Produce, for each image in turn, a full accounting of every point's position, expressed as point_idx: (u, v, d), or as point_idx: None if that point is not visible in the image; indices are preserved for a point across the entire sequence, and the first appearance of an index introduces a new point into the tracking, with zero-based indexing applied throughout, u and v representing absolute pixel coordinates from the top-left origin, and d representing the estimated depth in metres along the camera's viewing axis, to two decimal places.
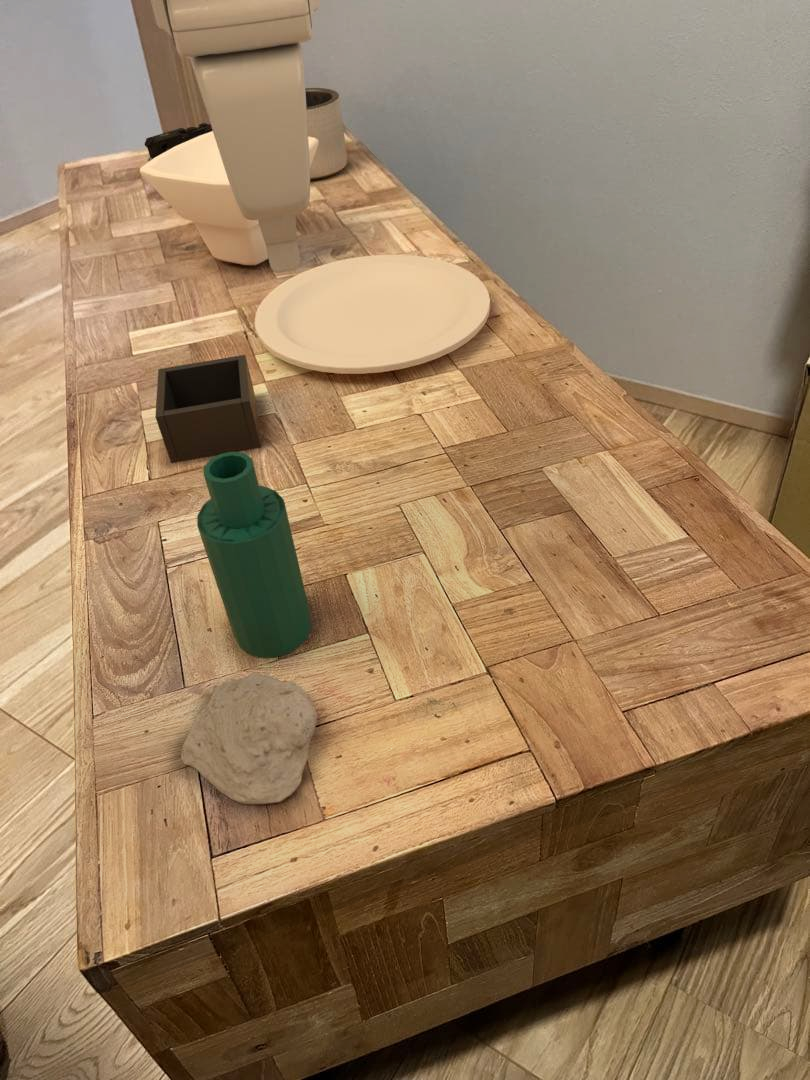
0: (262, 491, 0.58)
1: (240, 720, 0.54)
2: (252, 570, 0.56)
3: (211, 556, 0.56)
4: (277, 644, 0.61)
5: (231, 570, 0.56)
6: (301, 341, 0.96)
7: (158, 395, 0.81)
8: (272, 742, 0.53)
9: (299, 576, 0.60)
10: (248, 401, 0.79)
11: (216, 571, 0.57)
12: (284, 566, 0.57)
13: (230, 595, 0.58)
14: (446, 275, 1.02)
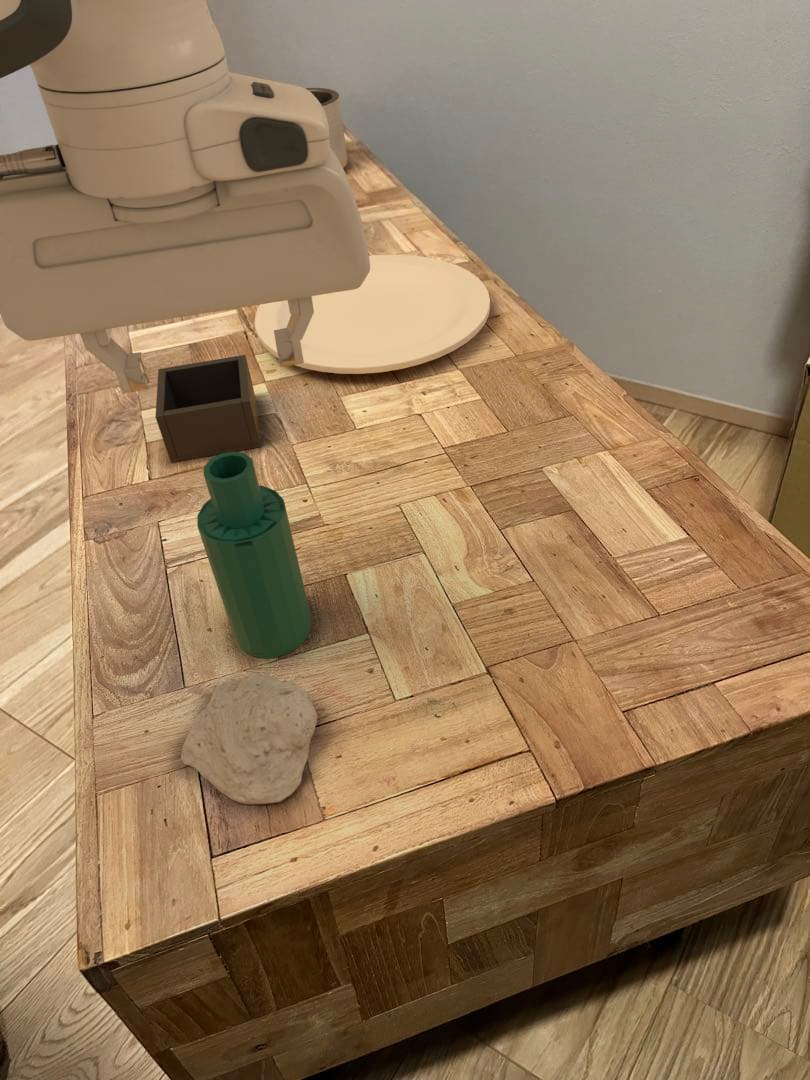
0: (262, 491, 0.58)
1: (240, 720, 0.54)
2: (252, 570, 0.56)
3: (211, 556, 0.56)
4: (277, 644, 0.61)
5: (231, 570, 0.56)
6: (301, 341, 0.96)
7: (158, 395, 0.81)
8: (272, 742, 0.53)
9: (299, 576, 0.60)
10: (248, 401, 0.79)
11: (216, 571, 0.57)
12: (284, 566, 0.57)
13: (230, 595, 0.58)
14: (446, 275, 1.02)
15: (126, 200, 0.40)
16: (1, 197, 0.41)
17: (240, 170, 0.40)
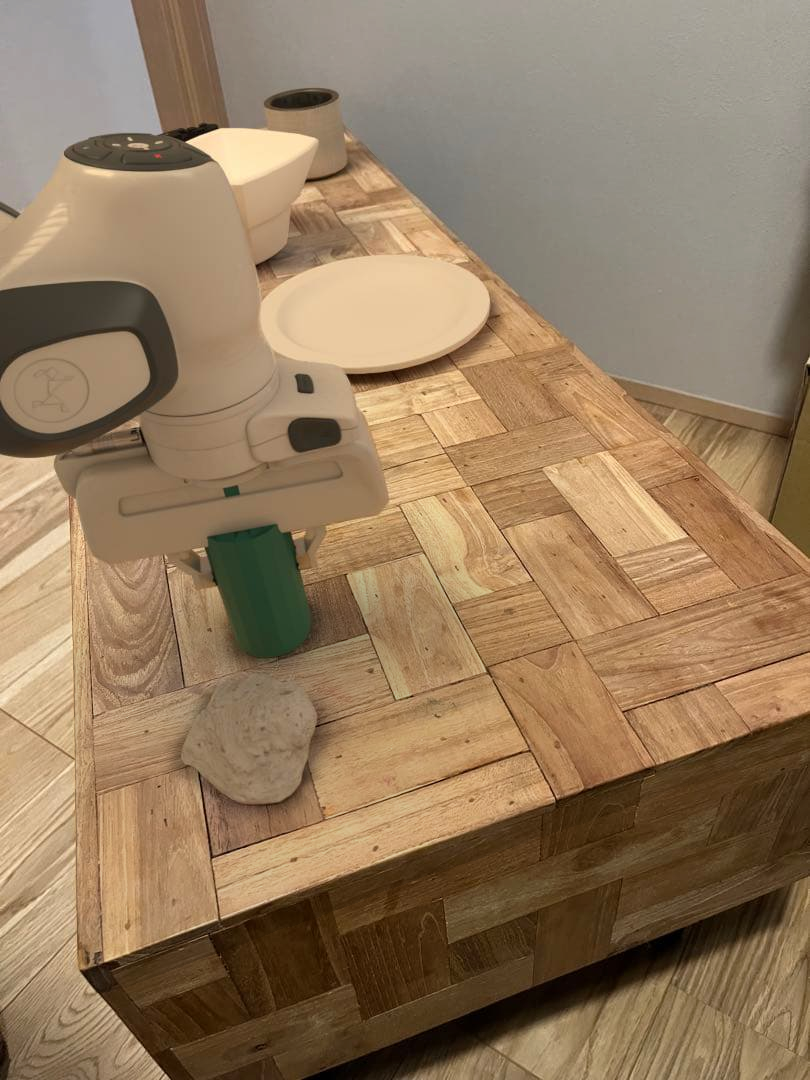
0: None
1: (240, 720, 0.54)
2: (252, 570, 0.56)
3: (211, 556, 0.56)
4: (276, 644, 0.61)
5: (231, 570, 0.56)
6: (301, 341, 0.96)
7: None
8: (272, 743, 0.53)
9: (299, 576, 0.60)
10: None
11: (216, 571, 0.57)
12: (284, 566, 0.58)
13: (230, 595, 0.58)
14: (446, 275, 1.02)
15: None
16: (94, 468, 0.51)
17: (287, 453, 0.50)
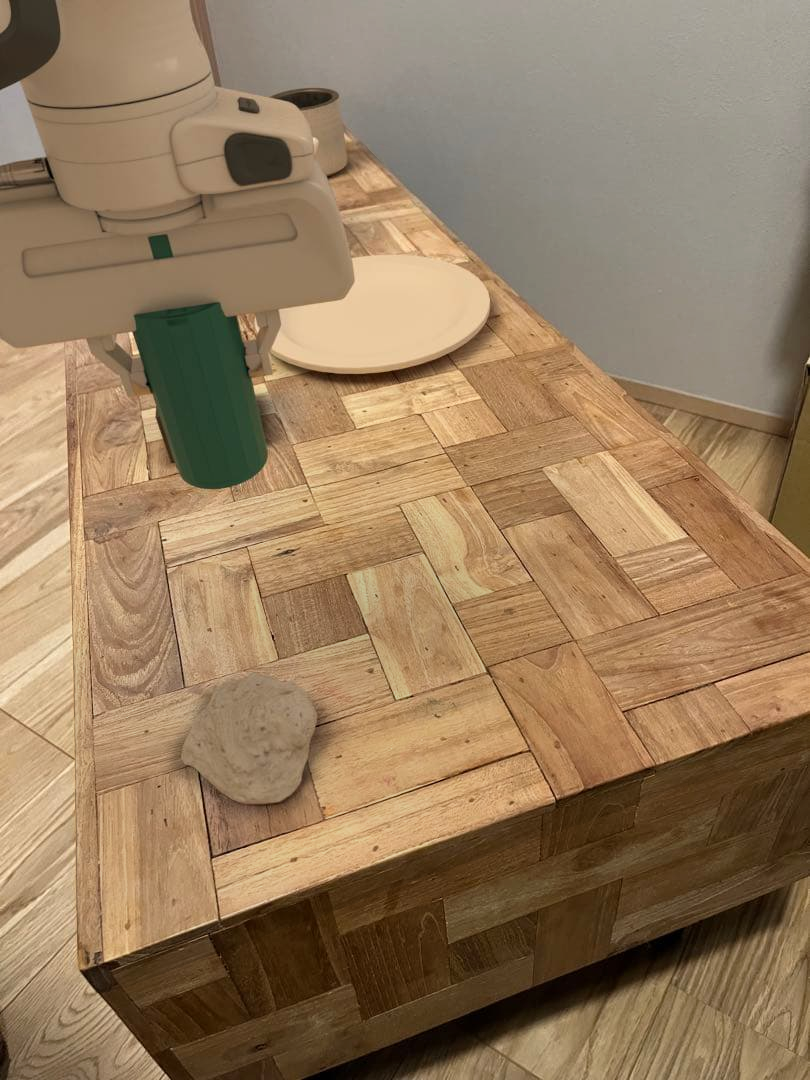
0: None
1: (240, 720, 0.54)
2: (190, 361, 0.47)
3: (141, 345, 0.47)
4: (224, 470, 0.52)
5: (165, 361, 0.47)
6: (301, 341, 0.96)
7: None
8: (272, 743, 0.53)
9: (250, 386, 0.51)
10: None
11: (148, 367, 0.48)
12: (230, 363, 0.48)
13: (166, 400, 0.49)
14: (446, 275, 1.02)
15: (113, 212, 0.41)
16: None
17: (225, 184, 0.40)
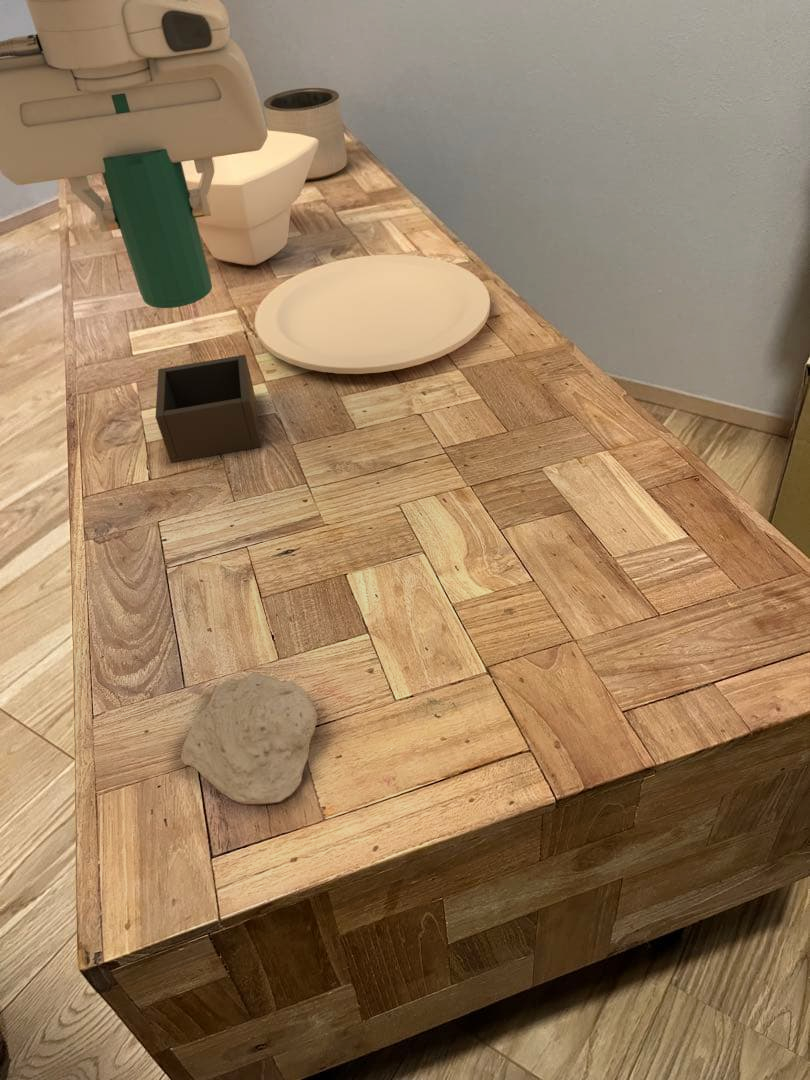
0: None
1: (240, 720, 0.54)
2: (145, 195, 0.63)
3: (109, 184, 0.63)
4: (176, 291, 0.68)
5: (126, 195, 0.63)
6: (301, 341, 0.96)
7: (158, 395, 0.81)
8: (272, 742, 0.53)
9: (194, 224, 0.67)
10: (248, 401, 0.79)
11: (115, 203, 0.64)
12: (176, 200, 0.64)
13: (129, 230, 0.65)
14: (446, 275, 1.02)
15: (84, 72, 0.57)
16: None
17: (163, 50, 0.57)
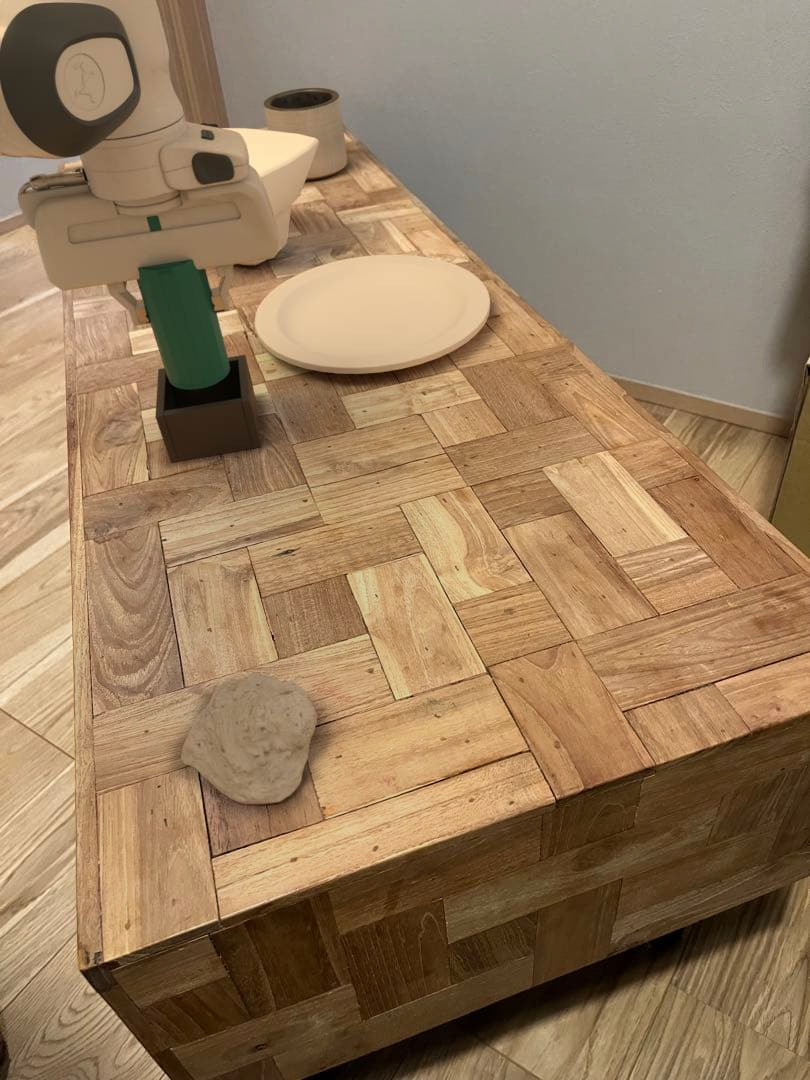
0: None
1: (240, 720, 0.54)
2: (174, 298, 0.72)
3: (142, 288, 0.72)
4: (199, 375, 0.78)
5: (158, 298, 0.72)
6: (301, 341, 0.96)
7: (158, 395, 0.81)
8: (272, 742, 0.53)
9: (215, 318, 0.76)
10: (248, 401, 0.79)
11: (147, 303, 0.73)
12: (200, 300, 0.74)
13: (159, 326, 0.74)
14: (446, 275, 1.02)
15: (124, 201, 0.66)
16: (48, 200, 0.67)
17: (193, 183, 0.66)
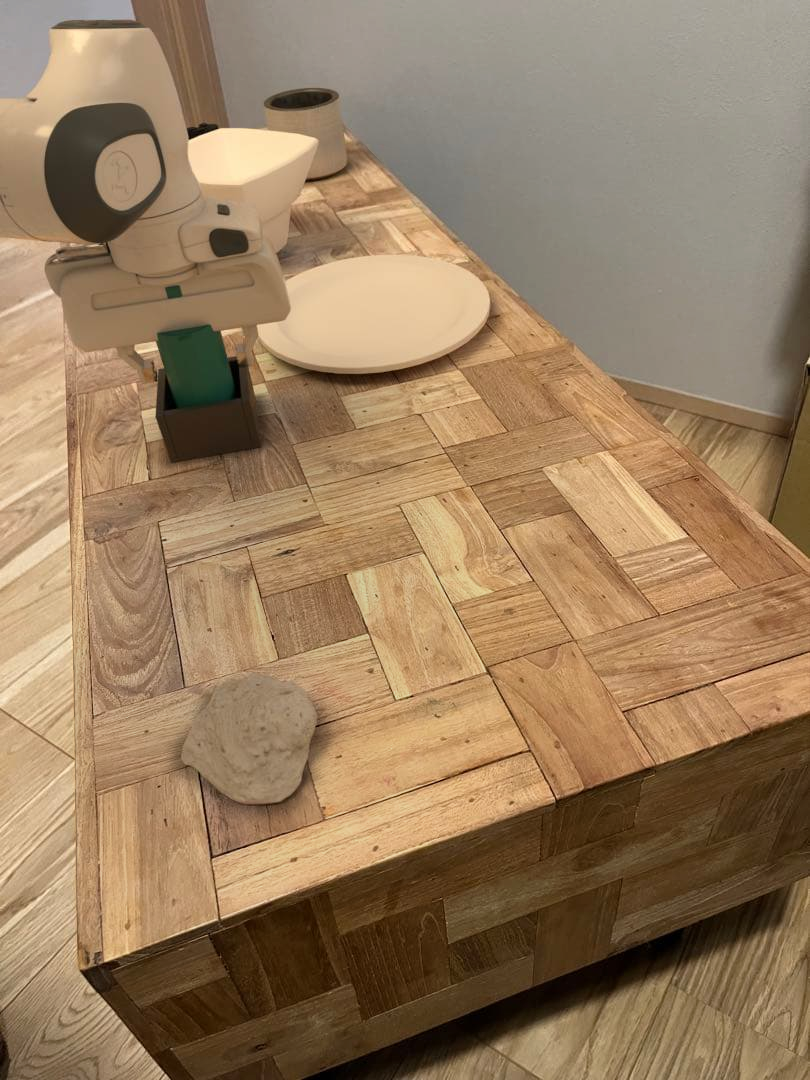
0: None
1: (240, 720, 0.54)
2: (192, 361, 0.76)
3: (162, 351, 0.77)
4: None
5: (176, 361, 0.76)
6: (301, 341, 0.96)
7: (158, 395, 0.81)
8: (272, 742, 0.53)
9: (230, 376, 0.81)
10: (248, 401, 0.79)
11: (166, 365, 0.78)
12: (216, 362, 0.78)
13: (177, 385, 0.79)
14: (446, 275, 1.02)
15: None
16: (73, 271, 0.71)
17: (210, 256, 0.70)
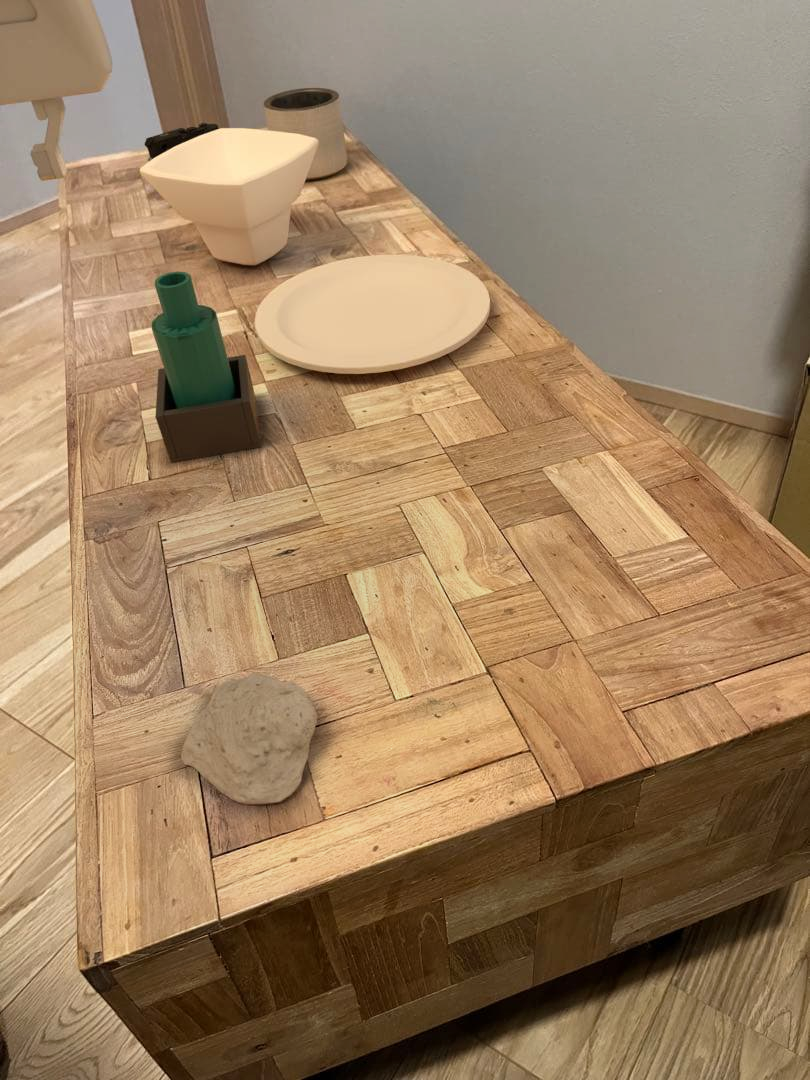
0: (200, 307, 0.78)
1: (240, 720, 0.54)
2: (192, 361, 0.76)
3: (162, 351, 0.77)
4: None
5: (176, 361, 0.76)
6: (301, 341, 0.96)
7: (158, 395, 0.81)
8: (272, 742, 0.53)
9: (230, 376, 0.81)
10: (248, 401, 0.79)
11: (166, 365, 0.78)
12: (216, 362, 0.78)
13: (177, 385, 0.79)
14: (446, 275, 1.02)
15: None
16: None
17: None
